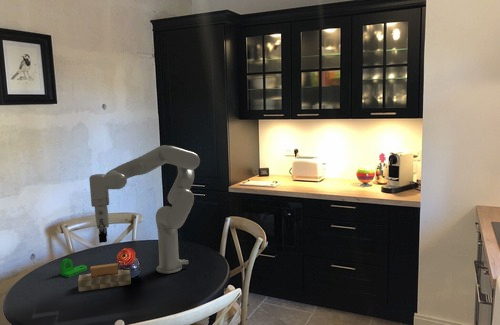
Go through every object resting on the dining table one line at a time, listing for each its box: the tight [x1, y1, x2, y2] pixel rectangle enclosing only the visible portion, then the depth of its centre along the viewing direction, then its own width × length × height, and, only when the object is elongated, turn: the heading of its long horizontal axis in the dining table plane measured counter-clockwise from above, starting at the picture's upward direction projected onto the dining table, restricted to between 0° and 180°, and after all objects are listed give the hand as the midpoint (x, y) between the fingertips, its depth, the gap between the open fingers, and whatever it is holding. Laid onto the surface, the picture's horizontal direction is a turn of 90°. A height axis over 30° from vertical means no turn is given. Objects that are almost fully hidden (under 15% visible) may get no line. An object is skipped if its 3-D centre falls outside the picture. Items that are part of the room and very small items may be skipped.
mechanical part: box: [59, 258, 88, 278], centre depth 204 cm, size 12×6×8 cm, turn 149°
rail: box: [77, 268, 132, 292], centre depth 188 cm, size 22×7×5 cm, turn 108°
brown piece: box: [89, 262, 119, 277], centre depth 188 cm, size 12×3×8 cm, turn 109°
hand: (103, 239), depth 186 cm, fingers open, 9 cm apart
